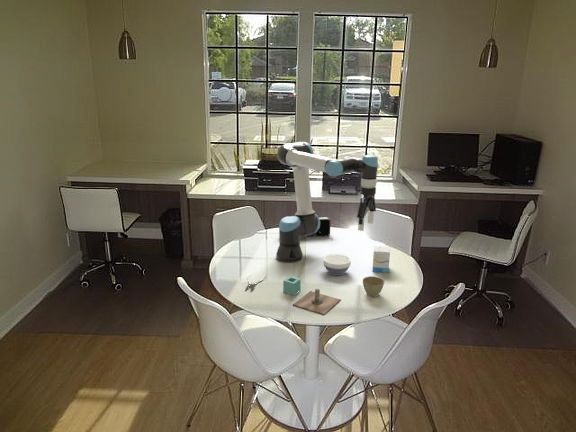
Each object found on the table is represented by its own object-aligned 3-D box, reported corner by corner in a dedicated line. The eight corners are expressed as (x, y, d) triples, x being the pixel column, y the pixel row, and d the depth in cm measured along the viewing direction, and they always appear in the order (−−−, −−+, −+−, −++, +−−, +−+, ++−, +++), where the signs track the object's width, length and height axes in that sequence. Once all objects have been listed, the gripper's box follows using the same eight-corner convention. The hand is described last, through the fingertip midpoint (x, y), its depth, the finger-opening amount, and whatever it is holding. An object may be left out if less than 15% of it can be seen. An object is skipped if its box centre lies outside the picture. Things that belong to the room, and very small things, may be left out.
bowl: (334, 264, 248) (335, 252, 246) (355, 272, 239) (356, 259, 236) (317, 272, 239) (317, 258, 237) (338, 280, 229) (338, 266, 227)
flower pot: (359, 290, 218) (360, 276, 216) (379, 289, 219) (380, 276, 217) (364, 299, 209) (365, 285, 207) (385, 299, 210) (386, 285, 208)
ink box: (388, 273, 238) (390, 252, 235) (372, 271, 240) (373, 251, 237) (388, 266, 246) (389, 246, 243) (372, 265, 248) (373, 245, 245)
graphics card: (280, 238, 290) (280, 217, 286) (279, 236, 295) (279, 215, 290) (330, 237, 295) (331, 216, 290) (328, 234, 299) (329, 214, 295)
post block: (292, 305, 203) (293, 292, 201) (310, 292, 216) (310, 279, 214) (324, 315, 195) (324, 301, 193) (340, 300, 208) (341, 287, 206)
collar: (283, 292, 216) (283, 280, 214) (289, 287, 221) (290, 276, 219) (293, 295, 213) (294, 283, 211) (300, 290, 218) (300, 279, 216)
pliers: (266, 274, 235) (265, 291, 216) (266, 275, 235) (265, 292, 216) (247, 274, 235) (244, 291, 216) (247, 275, 235) (244, 292, 216)
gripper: (366, 192, 213) (363, 234, 219) (383, 182, 234) (380, 221, 240) (351, 190, 217) (349, 232, 223) (370, 181, 237) (367, 219, 244)
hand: (365, 226), depth 231 cm, fingers open, 13 cm apart
